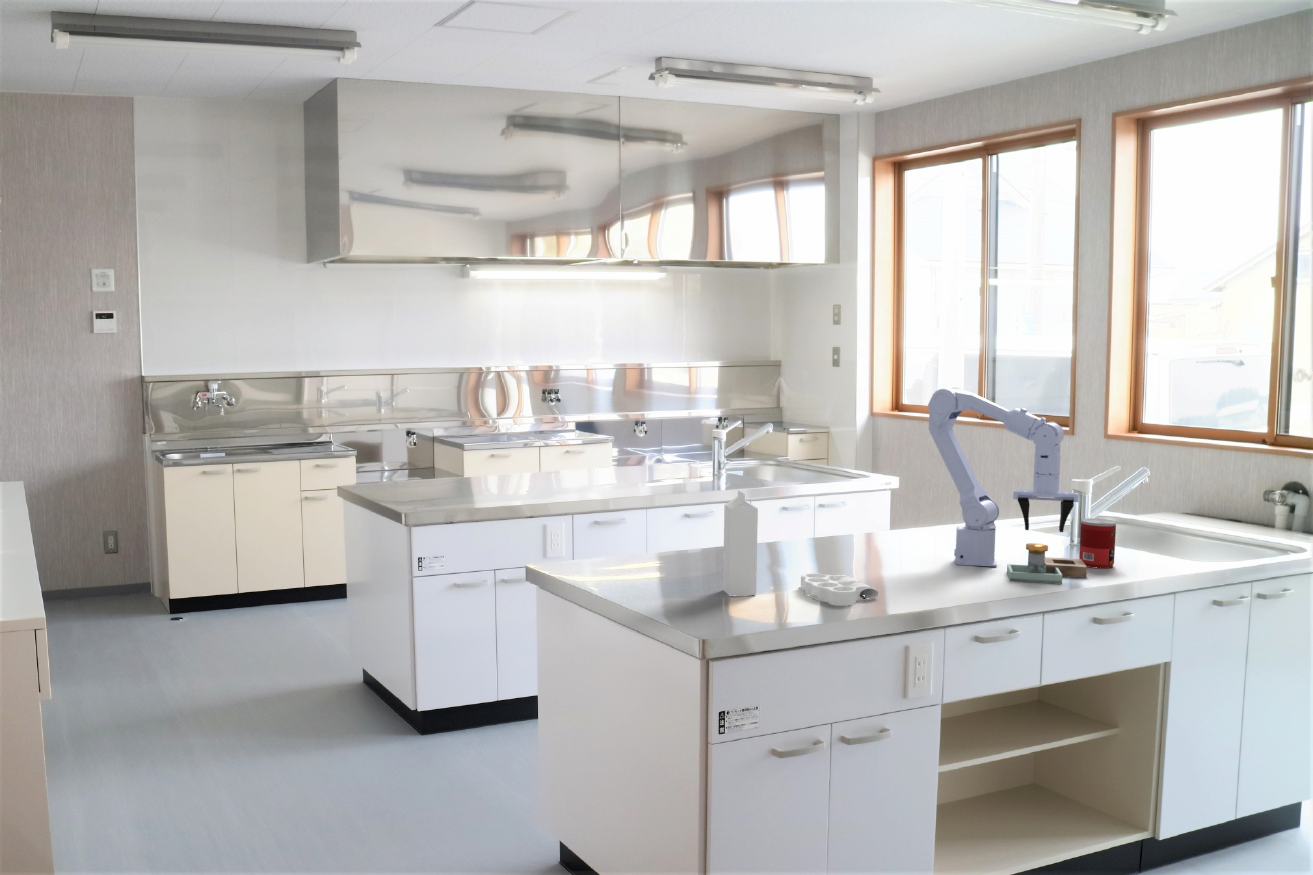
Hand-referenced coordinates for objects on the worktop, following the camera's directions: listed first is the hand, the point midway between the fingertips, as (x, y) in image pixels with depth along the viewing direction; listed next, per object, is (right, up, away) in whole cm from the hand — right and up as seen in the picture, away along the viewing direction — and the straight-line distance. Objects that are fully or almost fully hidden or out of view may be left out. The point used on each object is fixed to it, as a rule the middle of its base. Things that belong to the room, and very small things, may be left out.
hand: (1043, 530), depth 257 cm
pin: (-4, -10, -6) cm, 12 cm away
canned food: (+16, -10, +9) cm, 21 cm away
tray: (-4, -11, -6) cm, 13 cm away
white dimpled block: (-54, -12, -25) cm, 60 cm away
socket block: (+5, -10, 0) cm, 11 cm away
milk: (-74, -12, -24) cm, 79 cm away
